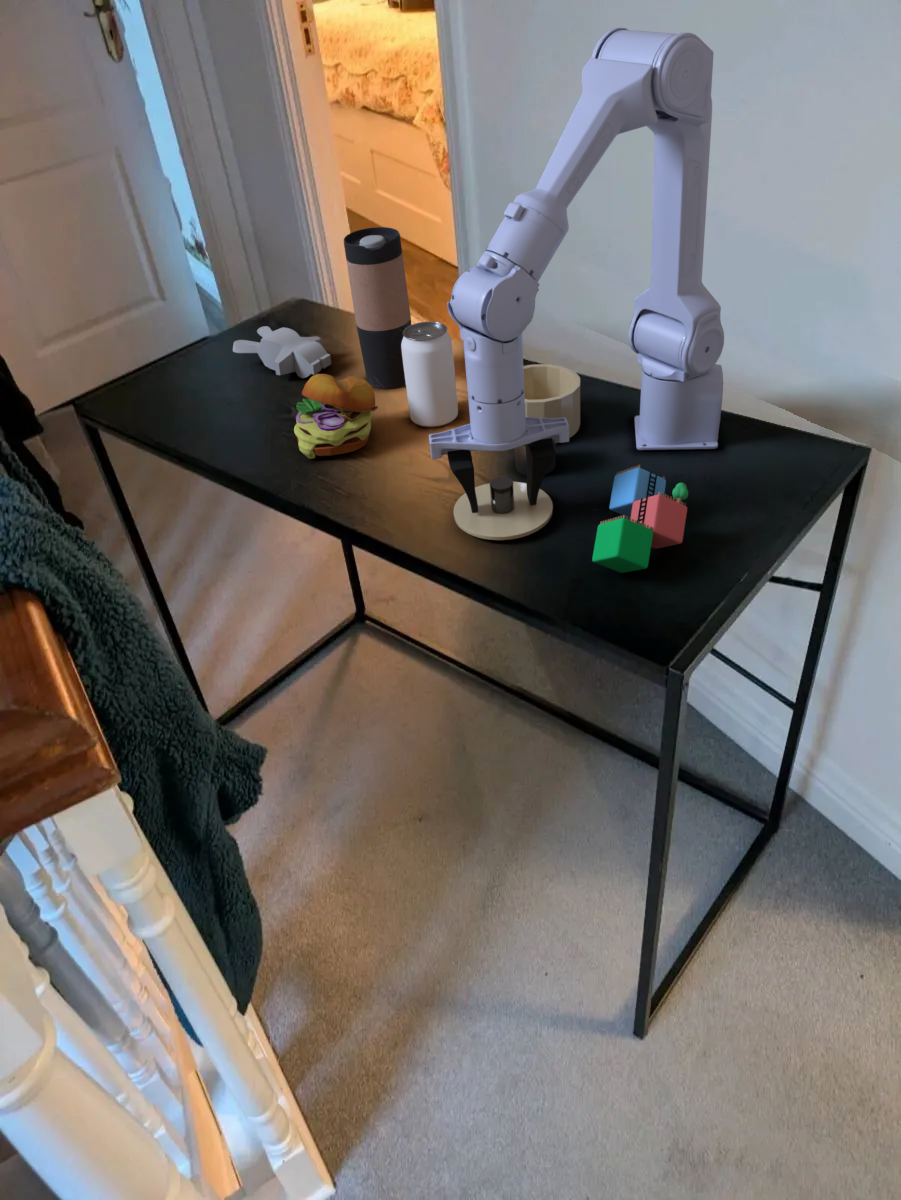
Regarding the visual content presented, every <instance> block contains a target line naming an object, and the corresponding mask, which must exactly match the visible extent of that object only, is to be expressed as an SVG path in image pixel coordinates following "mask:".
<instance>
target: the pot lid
mask: <svg viewBox="0 0 901 1200" xmlns="http://www.w3.org/2000/svg"><path fill="white" fill-rule="evenodd" d="M475 492H476V498H477V503H478V513H472V511H471V506H470V502H469V499H468V497H467V495H466V493H465V492H464V494H462V495H461V496H460V497H459V498H458V499H457V501H455V504H454V507H453V519H454V522H455V523H456V525H457V527H458V528H459V529H460V530H462V531H463V532H465V533H466V534H468V535H470V536H473V537H476V538H479V539H483V540H489V541H509V540H517V539H520V538H524V537H527V536H530V535H532V534H534V533H536V532H539V531H540V530H541V529H542V528H544V527H545V526H546V525H547V524H548V523H549V521H550V520H551V519H552V516H553V513H554V503H553V500H552V498H551V497H550V496H549V494H547V492H545V490H543V489H541V488H540V489H539V493H538V497H537V504H536V505H532V506H530V503H529V500H528V497H527V482H521V481H520V482H519V481H514V480H513V479H511V478H510V477H507V476H499V477H495V478H493V479H492V480H491V481H490V482H489V483H488V482H487V483H484V484H481V485H478V486H475Z"/></svg>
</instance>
